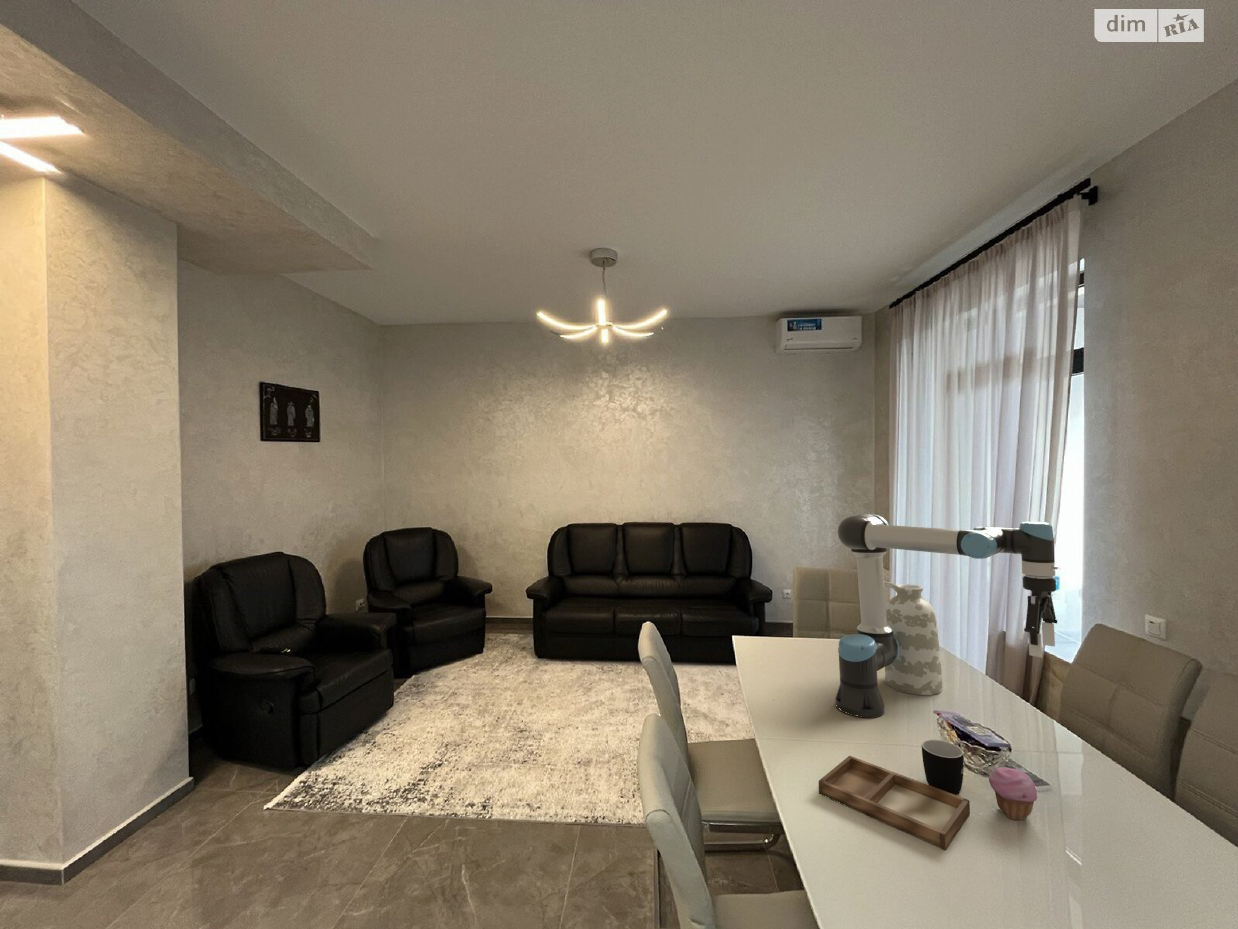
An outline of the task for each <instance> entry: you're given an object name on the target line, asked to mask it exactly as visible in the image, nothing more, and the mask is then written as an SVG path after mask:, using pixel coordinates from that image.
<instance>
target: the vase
mask: <svg viewBox="0 0 1238 929" xmlns="http://www.w3.org/2000/svg"><path fill="white" fill-rule="evenodd" d="M884 583H885V588H890V589H892V590H894V591H895V592H896V595H894V596H893V597H891V598H890V599H889V600H888V601H887V602H886V609H887V622H888V625H889V626H890V627H891V628H892V629H893V635H894V637H895V638H896V639H897V640H898V643H899V646H900V652H899V656H898V658H897V659H896V660H895V661H894V662H893V663H892V664H891V665H889V666H886V667H884V676H885V682H886V684H887V685H888V684H889V685H890V686H891V687H890V686H889V685H888V686H889V687H890V688H892V689H893V688H895V689H894V690H896V689H897V690H896V691H898V690H899V692H901V691H902V693H904V694H910V695H915V696H933V695H938V694H940V693H941V692H942V691H943V690H944V689H943V675H942V662H941V661H942V660H941V650H940V640H939V633H938V632H939V631H938V625H937V624H938V623H937V616H936V612H935V609H934V608H933V606H932V605H931V603H930V602H929V601H927V600H926V599H925V598H923V597H922V592H923V591H924V588H923V586H921V585H918V584H911V583H910V584H906V583H904V584H903V583H902V584H896V583H893V582H889V581H884Z"/></svg>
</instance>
